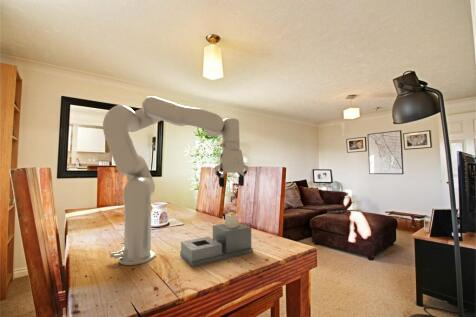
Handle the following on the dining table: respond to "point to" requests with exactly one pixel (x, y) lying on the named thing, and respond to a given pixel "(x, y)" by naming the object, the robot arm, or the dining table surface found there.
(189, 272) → the dining table surface
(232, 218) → the plug
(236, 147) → the robot arm
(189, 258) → the socket block
